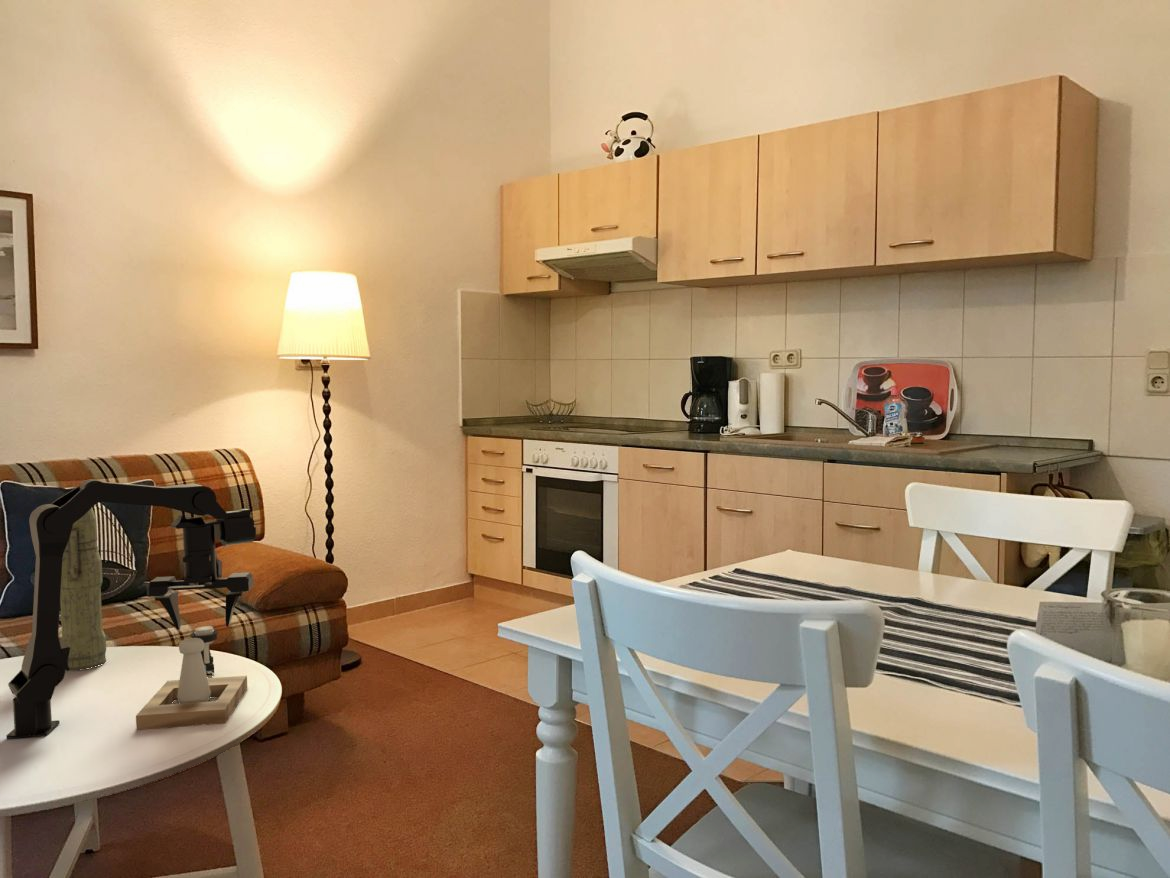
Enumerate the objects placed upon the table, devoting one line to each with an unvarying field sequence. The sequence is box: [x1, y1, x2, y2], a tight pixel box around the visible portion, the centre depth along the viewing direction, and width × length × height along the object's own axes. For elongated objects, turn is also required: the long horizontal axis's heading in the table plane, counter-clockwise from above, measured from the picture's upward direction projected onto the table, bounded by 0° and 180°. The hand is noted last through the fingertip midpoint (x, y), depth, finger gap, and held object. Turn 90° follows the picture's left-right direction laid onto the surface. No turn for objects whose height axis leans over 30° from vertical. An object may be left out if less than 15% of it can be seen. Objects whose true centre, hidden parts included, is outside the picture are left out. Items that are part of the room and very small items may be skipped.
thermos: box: [60, 507, 107, 671], centre depth 206 cm, size 9×12×35 cm
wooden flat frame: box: [135, 675, 248, 731], centre depth 177 cm, size 20×15×2 cm
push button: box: [189, 625, 219, 678], centre depth 196 cm, size 7×5×10 cm
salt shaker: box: [177, 637, 211, 704], centre depth 177 cm, size 6×6×13 cm
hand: (203, 627), depth 185 cm, fingers open, 9 cm apart
